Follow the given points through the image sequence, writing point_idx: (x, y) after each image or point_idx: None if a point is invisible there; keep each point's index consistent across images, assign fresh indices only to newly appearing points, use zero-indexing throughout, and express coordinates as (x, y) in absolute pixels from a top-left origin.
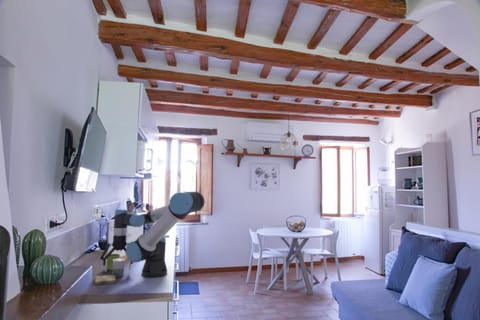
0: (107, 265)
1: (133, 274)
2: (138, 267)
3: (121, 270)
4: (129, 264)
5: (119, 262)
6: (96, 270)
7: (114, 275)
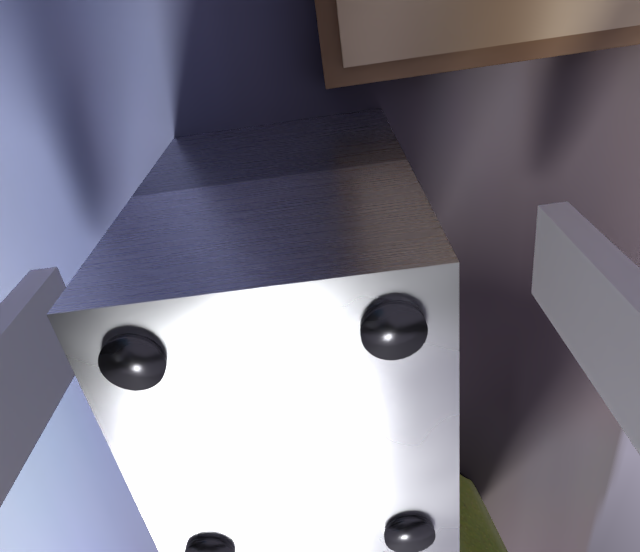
0: (491, 529)
1: (4, 218)
2: (51, 530)
3: (197, 171)
4: (4, 351)
5: (231, 265)
6: (612, 474)
7: (345, 14)
